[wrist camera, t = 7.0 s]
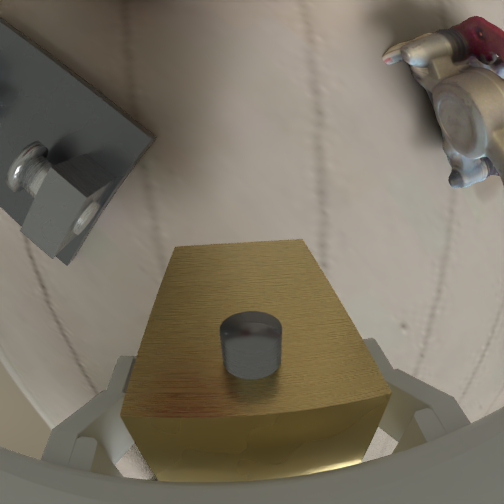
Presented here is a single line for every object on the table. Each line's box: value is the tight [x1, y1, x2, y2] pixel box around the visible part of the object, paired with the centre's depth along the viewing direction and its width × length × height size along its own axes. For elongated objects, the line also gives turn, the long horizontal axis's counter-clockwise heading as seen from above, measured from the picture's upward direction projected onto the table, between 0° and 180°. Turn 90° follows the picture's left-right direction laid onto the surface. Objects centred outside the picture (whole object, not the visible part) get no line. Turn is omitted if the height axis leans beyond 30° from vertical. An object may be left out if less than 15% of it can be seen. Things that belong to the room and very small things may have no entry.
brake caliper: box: [382, 16, 504, 188], centre depth 13 cm, size 11×10×11 cm
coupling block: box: [120, 239, 392, 482], centre depth 9 cm, size 7×5×8 cm
